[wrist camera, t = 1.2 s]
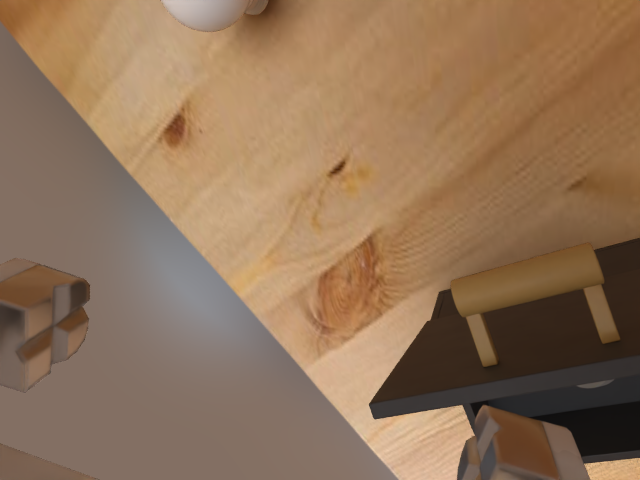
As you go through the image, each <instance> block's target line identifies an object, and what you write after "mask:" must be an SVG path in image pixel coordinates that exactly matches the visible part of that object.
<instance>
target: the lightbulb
mask: <svg viewBox="0 0 640 480" xmlns="http://www.w3.org/2000/svg"><path fill="white" fill-rule="evenodd" d="M161 2H162V4H163V5H164V7H165V8H166V10H167V11H168V12H169V13H170V15H171V16H172V17H174V18H175V19H176V20H177V21H178V22H180V23H181V24H183V25H184V26H186V27H188V28H191V29H193V30H197V31H202V32H215V31H220V30H223V29H226V28H228V27H230V26H231V25H233V24H234V23H235V22H237V21H238V20H239V19H240V18H241V16H242V15H243V14H244V13H246V14H250V15H257V14H259V13H261V12H262V11H263V10H264V9H265V7H266V6H267V3H268V0H161Z"/></svg>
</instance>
